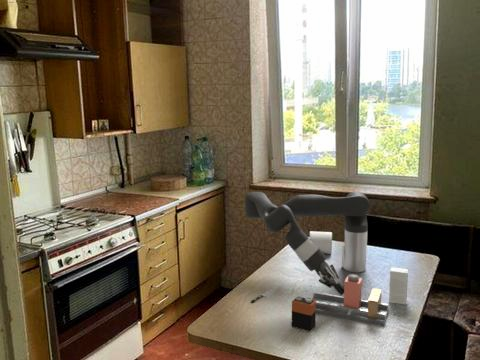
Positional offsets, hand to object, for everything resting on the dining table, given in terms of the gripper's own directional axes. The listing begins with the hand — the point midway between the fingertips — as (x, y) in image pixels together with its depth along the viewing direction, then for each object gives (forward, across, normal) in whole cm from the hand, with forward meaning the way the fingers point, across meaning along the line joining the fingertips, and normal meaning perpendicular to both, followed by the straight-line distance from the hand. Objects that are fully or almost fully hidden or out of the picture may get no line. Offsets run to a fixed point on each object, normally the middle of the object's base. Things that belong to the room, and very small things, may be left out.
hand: (343, 293), depth 161 cm
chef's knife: (-15, -2, -25) cm, 29 cm away
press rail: (+6, 0, -3) cm, 6 cm away
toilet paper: (-11, -54, -20) cm, 59 cm away
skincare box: (+16, -15, +7) cm, 23 cm away
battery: (-2, +17, -11) cm, 20 cm away
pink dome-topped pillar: (+6, 0, -1) cm, 6 cm away
